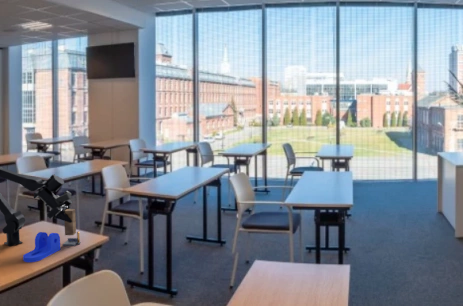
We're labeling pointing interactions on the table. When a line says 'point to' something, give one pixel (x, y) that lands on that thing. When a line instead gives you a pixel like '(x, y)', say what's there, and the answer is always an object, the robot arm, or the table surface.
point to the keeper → (72, 241)
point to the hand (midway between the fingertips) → (72, 220)
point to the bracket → (43, 247)
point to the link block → (71, 227)
